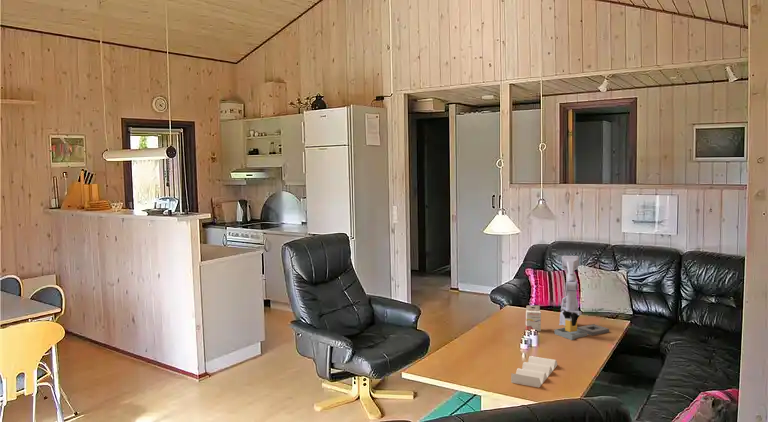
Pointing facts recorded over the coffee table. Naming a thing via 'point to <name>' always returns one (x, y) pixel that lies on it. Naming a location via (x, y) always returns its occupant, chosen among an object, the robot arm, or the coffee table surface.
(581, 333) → the parts tray
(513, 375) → the file organizer
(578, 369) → the coffee table surface
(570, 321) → the block
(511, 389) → the coffee table surface
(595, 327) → the block
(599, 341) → the coffee table surface
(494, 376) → the coffee table surface
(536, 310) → the ink cartridge box
